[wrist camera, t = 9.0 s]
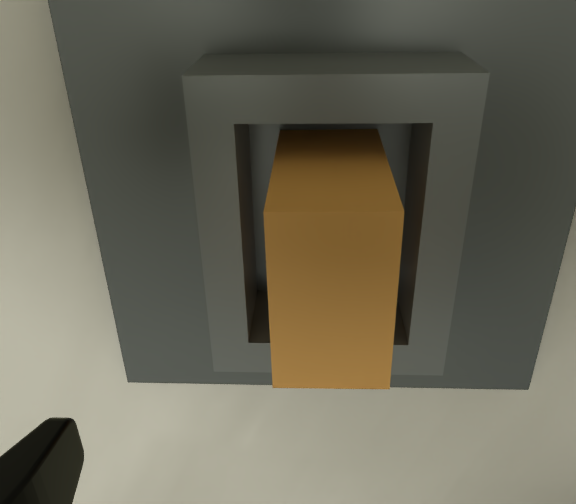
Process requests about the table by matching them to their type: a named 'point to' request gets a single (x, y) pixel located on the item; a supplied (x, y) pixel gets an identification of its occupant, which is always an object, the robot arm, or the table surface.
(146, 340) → the desk well
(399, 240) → the brown rectangular block
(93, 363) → the table surface
